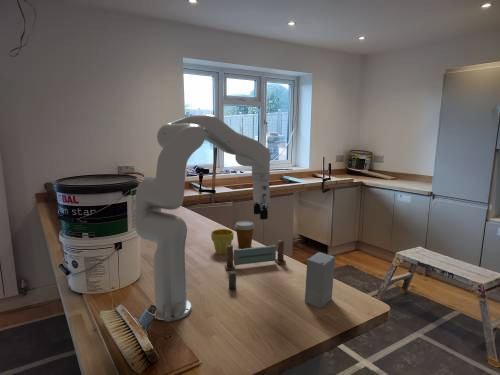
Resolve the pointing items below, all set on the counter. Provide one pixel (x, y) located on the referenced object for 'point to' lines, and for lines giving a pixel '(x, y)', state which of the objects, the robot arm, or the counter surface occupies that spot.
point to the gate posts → (231, 267)
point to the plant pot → (221, 240)
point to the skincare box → (319, 279)
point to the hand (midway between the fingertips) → (260, 216)
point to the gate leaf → (254, 255)
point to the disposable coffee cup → (244, 233)
